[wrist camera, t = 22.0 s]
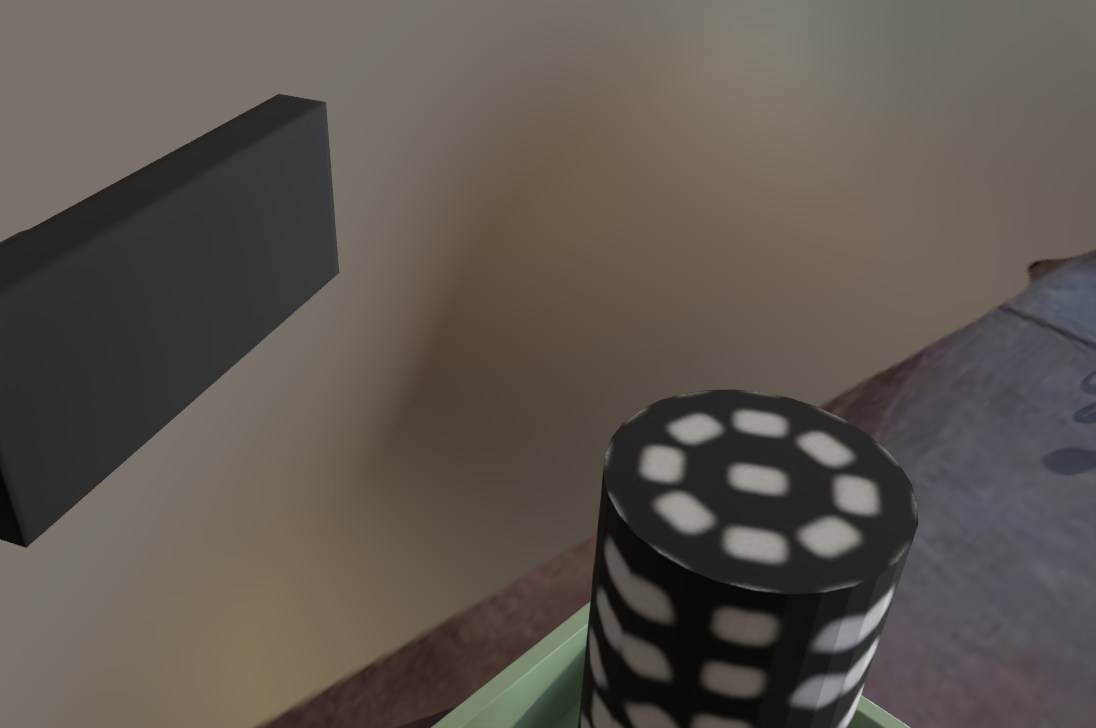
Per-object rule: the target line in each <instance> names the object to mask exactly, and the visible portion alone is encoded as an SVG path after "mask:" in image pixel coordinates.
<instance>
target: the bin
mask: <svg viewBox="0 0 1096 728" xmlns="http://www.w3.org/2000/svg"><path fill="white" fill-rule="evenodd" d="M589 610H590V602H589V603H588V604H586V605H585V606H584V607H583V608H581V609H580V610H579V611H578V612H576V613H575V614H574V615H572V616H571V617H570V618H569V619H567V620H566V621H565V622H564V623H562V624H561V625H560V626H559V627H557V628H556V629H555V630H554V631H552V632H551V633H550V634H548V635H547V636H546V637H545V638H543V639H542V640H541V641H540V642H538V643H537V644H536V645H535V646H533V647H532V648H531V649H530V650H528V651H527V652H526V653H525V654H523V655H522V656H521V657H519V658H518V659H517V660H516V661H514V662H513V663H512V664H511V665H509V666H508V667H507V668H506V669H504V670H503V671H502V672H501V673H499V674H498V675H497V676H495V677H494V678H493V679H492V680H490V681H489V682H488V683H487V684H485V685H484V686H483V687H482V688H480V689H479V690H478V691H477V692H475V693H474V694H473V695H471V696H470V697H469V698H468V699H466V700H465V701H464V702H463V703H461V704H460V705H459V706H458V707H456V708H455V709H454V710H453V711H451V712H450V713H449V714H448V715H446V716H445V717H444V718H442V719H441V720H440V721H439V722H437V723H436V724H435V725H434V726H432V727H431V728H578V721H579V711H580V701H581V691H582V681H583V671H584V661H585V651H586V640H587V630H588V620H589ZM850 728H910V727H909V726H907V725H906V724H904V723H903V722H901V721H899V720H898V719H896V718H895V717H893V716H892V715H890V714H889V713H887V712H886V711H884V710H883V709H881V708H880V707H878V706H877V705H875V704H874V703H872V702H871V701H869V700H867V699H866V698H864V697H863V696H860V699H859V702H858V705H857V708H856V711H855V714H854V717H853V720H852V722H851V725H850Z"/></svg>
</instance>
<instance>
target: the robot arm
mask: <svg viewBox="0 0 1096 728" xmlns="http://www.w3.org/2000/svg"><path fill="white" fill-rule="evenodd" d="M338 273H339V266H338V253H337V241H336V228H335V214H334V203H333V188H332V175H331V163H330V150H329V137H328V123H327V111H326V102H321V101H315V100H310V99H304V98H299V97H293V96H287V95H281V94H278V95H276V96H274V97H273V98H271V99H269V100H267V101H265V102H263V103H261V104H260V105H258V106H256V107H254V108H252V109H251V110H249V111H247V112H245V113H243V114H241V115H239V116H238V117H236V118H234V119H232V120H230V121H228V122H226V123H225V124H223V125H221V126H219V127H217V128H215V129H214V130H212V131H210V132H208V133H206V134H204V135H203V136H201V137H199V138H197V139H195V140H193V141H191V142H190V143H188V144H186V145H184V146H182V147H180V148H179V149H177V150H175V151H173V152H171V153H170V154H167V155H166V156H164V157H162V158H161V159H158V160H156V161H155V162H153V163H151V164H149V165H147V166H145V167H143V168H142V169H140V170H138V171H136V172H134V173H132V174H131V175H129V176H127V177H125V178H123V179H121V180H120V181H118V182H116V183H114V184H112V185H110V186H109V187H107V188H105V189H103V190H101V191H99V192H97V193H96V194H94V195H92V196H90V197H88V198H86V199H85V200H83V201H81V202H79V203H77V204H75V205H73V206H72V207H70V208H68V209H66V210H64V211H62V212H61V213H59V214H57V215H55V216H53V217H51V218H49V219H48V220H46V221H44V222H42V223H40V224H38V225H37V226H35V227H33V228H31V229H28V230H25V231H22V232H19V233H17V234H15V235H13V236H11V237H10V238H8V239H6V240H4V241H2V242H0V539H1V540H4V541H7V542H10V543H14V544H17V545H19V546H23V547H28V546H29V545H30V544H31V543H32V542H33V541H34V540H36V539H37V538H38V537H39V536H40V535H41V534H42V533H44V532H45V531H46V530H47V529H48V528H49V527H50V526H52V525H53V524H54V523H55V522H56V521H57V520H58V519H59V518H61V517H62V516H63V515H64V514H65V513H66V512H67V511H69V510H70V509H71V508H72V507H73V506H74V505H75V504H77V503H78V502H79V501H80V500H81V499H82V498H83V497H85V496H86V495H87V494H88V493H89V492H90V491H91V490H92V489H94V488H95V487H96V486H97V485H98V484H99V483H101V482H102V481H103V480H104V479H105V478H106V477H107V476H108V475H110V474H111V473H112V472H113V471H114V470H115V469H116V468H118V467H119V466H120V465H121V464H122V463H123V462H124V461H126V460H127V458H129V457H130V456H131V455H132V454H133V453H134V452H136V451H137V450H138V449H139V448H140V447H141V446H143V445H144V444H145V443H146V442H147V441H148V440H149V439H151V438H152V437H153V436H154V435H155V434H156V433H157V432H159V431H160V430H161V429H162V428H163V427H164V426H165V425H166V424H168V423H169V422H170V421H171V420H172V419H173V418H174V417H176V416H177V415H178V414H179V413H180V412H181V411H182V410H183V409H185V408H186V407H187V406H188V405H189V404H190V403H191V402H193V401H194V400H195V399H196V398H197V397H198V396H199V395H201V394H202V393H203V392H204V391H205V390H206V389H207V388H208V387H210V386H211V385H212V384H213V383H214V382H215V381H217V380H218V379H219V378H220V377H221V376H222V375H223V374H224V373H226V372H227V371H228V370H229V369H230V368H231V367H232V366H234V365H235V364H236V363H237V362H238V361H239V360H240V359H241V358H243V357H244V356H245V355H246V354H247V353H248V352H250V351H251V350H252V349H253V348H254V347H255V346H256V345H257V344H259V343H260V342H261V341H262V340H263V339H264V338H265V337H266V336H268V335H269V334H270V333H271V332H272V331H273V330H275V329H276V328H277V327H278V326H279V325H280V324H281V323H282V322H284V321H285V320H286V319H287V318H288V317H289V316H290V315H292V313H294V312H295V311H296V310H297V309H298V308H299V307H301V306H302V305H303V304H304V303H305V302H306V301H308V300H309V299H310V298H311V297H312V296H313V295H314V294H315V293H316V292H318V291H319V290H320V289H321V288H322V287H323V286H324V285H326V284H327V283H328V282H329V281H330V280H331V279H332V278H334V277H335V276H336V275H337V274H338Z"/></svg>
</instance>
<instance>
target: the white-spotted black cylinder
mask: <svg viewBox="0 0 1096 728" xmlns="http://www.w3.org/2000/svg"><path fill="white" fill-rule="evenodd" d="M917 526H918V504H917V500H916V497H915V494H914V491H913V488H912V484H911V483H910V481H909V479H908V478H907V476H906V474H905V473H904V471H903V470H902V468H901V466H900V465H899V464H898V463H897V461H896V460H895V459H894V458H893V457H892V456H891V455H890V454H889V453H888V452H887V450H886V449H885V448H884V447H883V446H881V445H880V444H879V443H878V442H876V441H875V440H874V439H873V438H871V437H870V436H869V435H868V434H866V433H865V432H864V431H862V430H861V429H859V428H857V427H856V426H854V425H852V424H851V423H849V422H847V421H846V420H844V419H842V418H840V417H838V416H836V415H834V414H832V413H829V412H827V411H825V410H823V409H820V408H818V407H816V406H813V405H810V404H806V403H803V402H800V401H797V400H794V399H791V398H787V397H782V396H777V395H772V394H768V393H763V392H754V391H753V392H752V391H742V390H706V391H700V392H692V393H685V394H681V395H677V396H673V397H670V398H667V399H663V400H660V401H658V402H656V403H654V404H652V405H650V406H647V407H645V408H643V409H641V410H640V411H638V412H637V413H636V414H634V415H633V416H632V417H630V418H629V419H628V420H626V421H625V422H624V423H623V424H622V426H621V427H620V428H619V429H618V430H617V432H616V433H615V434H614V435H613V437H612V438H611V441H610V443H609V446H608V448H607V451H606V453H605V458H604V469H603V479H602V489H601V499H600V509H599V519H598V529H597V539H596V549H595V560H594V570H593V580H592V590H591V600H590V610H589V620H588V630H587V640H586V651H585V661H584V671H583V681H582V691H581V701H580V711H579V721H578V728H850V725H851V722H852V720H853V717H854V714H855V711H856V708H857V705H858V702H859V699H860V696H861V693H862V690H863V687H864V684H865V681H866V678H867V675H868V672H869V669H870V666H871V663H872V660H873V657H874V654H875V651H876V648H877V645H878V642H879V639H880V636H881V633H882V630H883V627H884V624H885V621H886V618H887V615H888V612H889V609H890V606H891V603H892V600H893V597H894V594H895V591H896V588H897V585H898V582H899V580H900V577H901V574H902V571H903V568H904V565H905V562H906V559H907V556H908V553H909V550H910V547H911V544H912V541H913V538H914V535H915V532H916V529H917Z"/></svg>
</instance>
